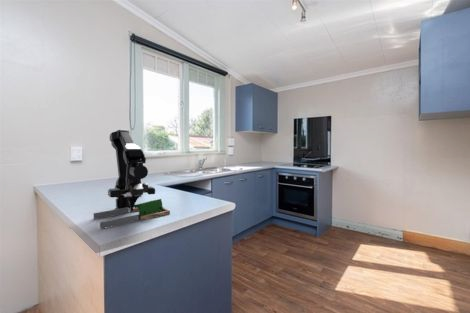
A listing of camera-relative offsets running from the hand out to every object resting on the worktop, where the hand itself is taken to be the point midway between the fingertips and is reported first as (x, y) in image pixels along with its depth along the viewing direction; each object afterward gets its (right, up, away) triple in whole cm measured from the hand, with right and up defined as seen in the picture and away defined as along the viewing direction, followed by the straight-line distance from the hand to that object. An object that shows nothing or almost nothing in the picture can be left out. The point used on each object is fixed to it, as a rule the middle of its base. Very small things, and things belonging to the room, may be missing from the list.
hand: (131, 210), depth 101 cm
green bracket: (+6, -3, +5) cm, 8 cm away
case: (-5, -3, -5) cm, 7 cm away
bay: (+6, -2, +5) cm, 8 cm away
